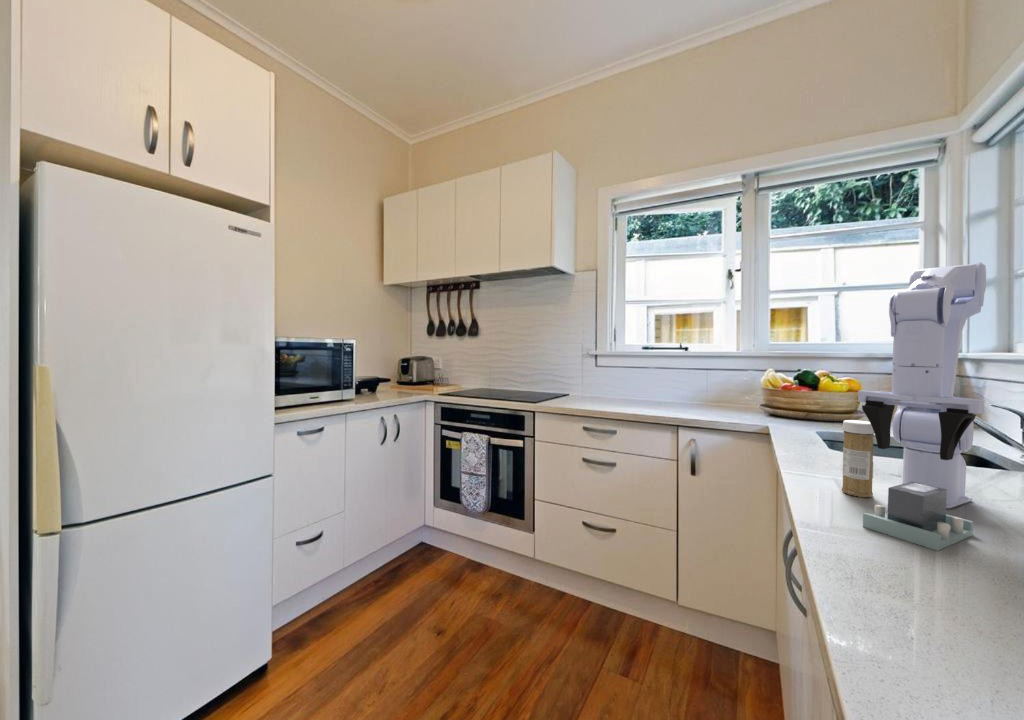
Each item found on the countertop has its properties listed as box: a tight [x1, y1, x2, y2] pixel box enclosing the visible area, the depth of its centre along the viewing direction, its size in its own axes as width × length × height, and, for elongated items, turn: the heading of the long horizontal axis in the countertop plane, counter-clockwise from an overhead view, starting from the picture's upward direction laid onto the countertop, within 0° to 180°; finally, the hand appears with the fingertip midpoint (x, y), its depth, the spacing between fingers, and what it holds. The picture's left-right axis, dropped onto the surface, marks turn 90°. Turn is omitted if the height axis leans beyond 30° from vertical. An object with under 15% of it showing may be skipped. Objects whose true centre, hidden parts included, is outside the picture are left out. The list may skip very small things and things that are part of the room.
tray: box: [862, 504, 974, 552], centre depth 63 cm, size 11×8×3 cm
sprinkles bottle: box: [841, 419, 875, 498], centre depth 79 cm, size 5×5×14 cm
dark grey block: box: [887, 482, 947, 532], centre depth 63 cm, size 7×4×6 cm, turn 116°
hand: (913, 453), depth 67 cm, fingers open, 7 cm apart
